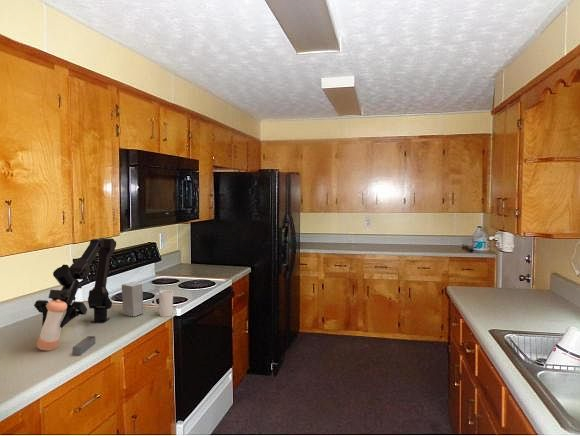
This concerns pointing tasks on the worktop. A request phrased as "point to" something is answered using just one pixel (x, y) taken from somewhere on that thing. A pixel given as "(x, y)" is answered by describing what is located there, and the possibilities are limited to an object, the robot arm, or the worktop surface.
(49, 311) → the salt shaker
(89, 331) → the worktop surface
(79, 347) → the steel bar
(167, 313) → the mug
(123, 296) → the skincare box
